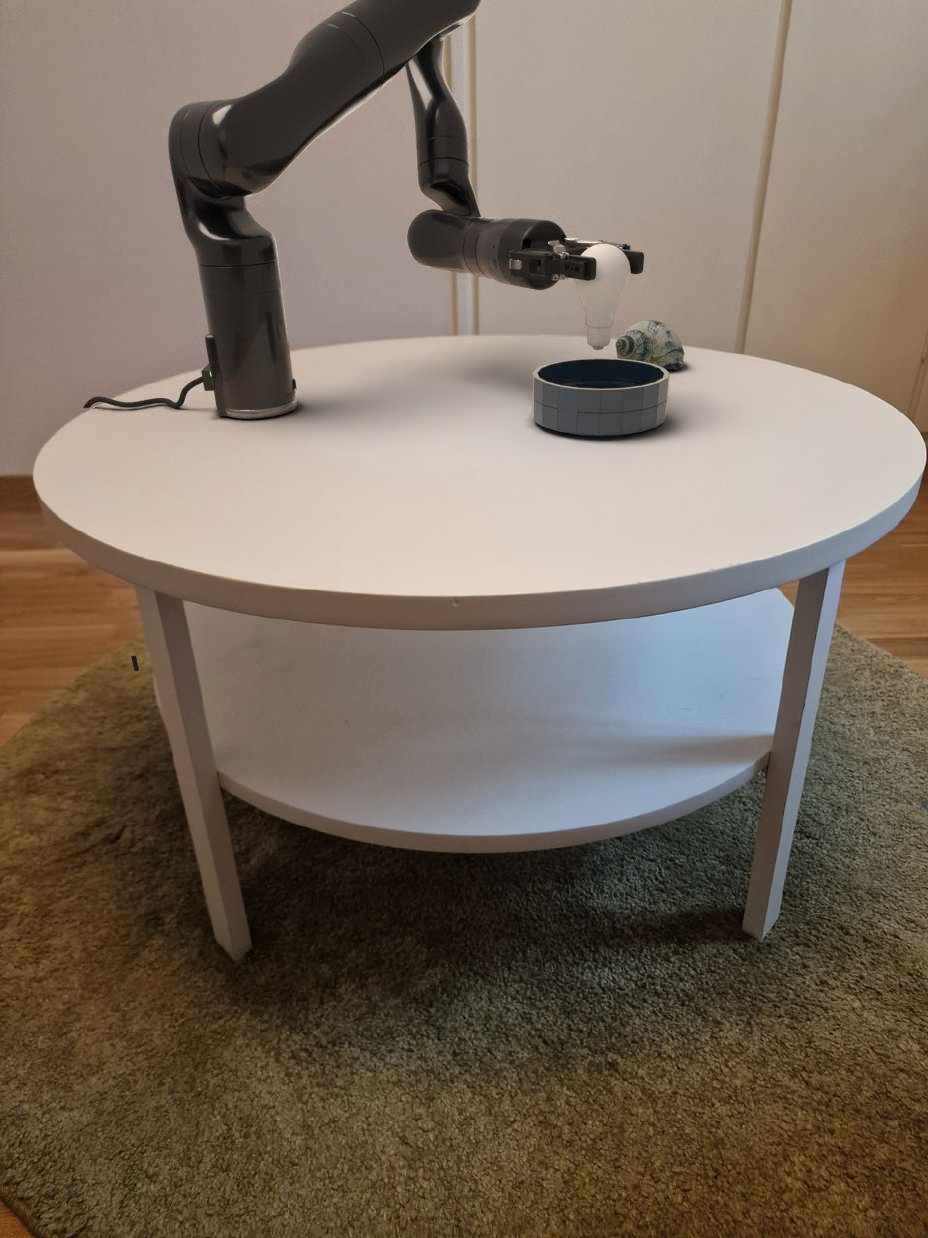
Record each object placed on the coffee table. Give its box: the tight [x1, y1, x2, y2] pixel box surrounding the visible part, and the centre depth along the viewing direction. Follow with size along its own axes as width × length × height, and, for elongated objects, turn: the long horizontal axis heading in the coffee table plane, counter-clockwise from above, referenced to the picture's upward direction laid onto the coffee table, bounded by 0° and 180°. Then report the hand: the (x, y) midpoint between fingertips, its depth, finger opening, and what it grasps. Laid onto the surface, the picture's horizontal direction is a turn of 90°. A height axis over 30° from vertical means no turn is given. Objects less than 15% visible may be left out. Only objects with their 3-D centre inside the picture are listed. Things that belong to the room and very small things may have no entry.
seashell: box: [615, 319, 686, 371], centre depth 119 cm, size 6×8×12 cm
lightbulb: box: [573, 244, 632, 351], centre depth 93 cm, size 6×6×11 cm
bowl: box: [531, 357, 671, 438], centre depth 97 cm, size 15×15×6 cm
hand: (617, 266), depth 90 cm, fingers closed on lightbulb, 6 cm apart
